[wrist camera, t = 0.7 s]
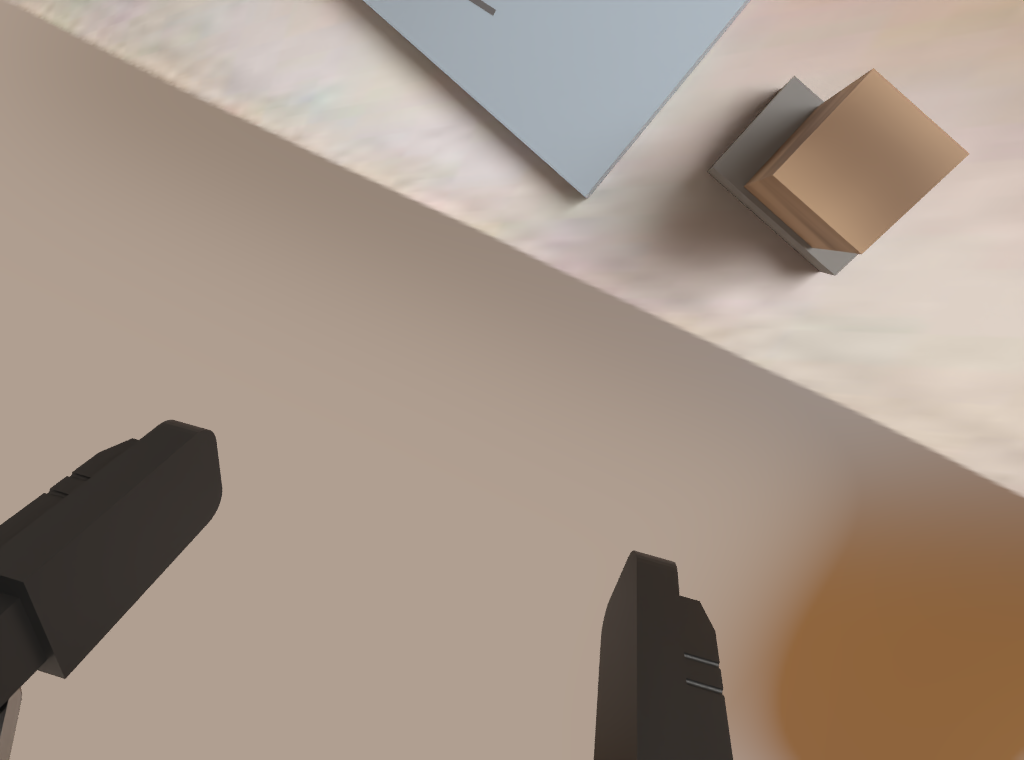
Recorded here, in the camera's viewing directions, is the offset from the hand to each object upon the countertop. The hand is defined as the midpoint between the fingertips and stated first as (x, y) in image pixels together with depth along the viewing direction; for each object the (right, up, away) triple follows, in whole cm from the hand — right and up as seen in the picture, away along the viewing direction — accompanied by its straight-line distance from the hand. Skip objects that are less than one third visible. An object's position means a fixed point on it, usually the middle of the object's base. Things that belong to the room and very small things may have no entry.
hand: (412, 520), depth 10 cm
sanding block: (+17, +13, +18) cm, 28 cm away
